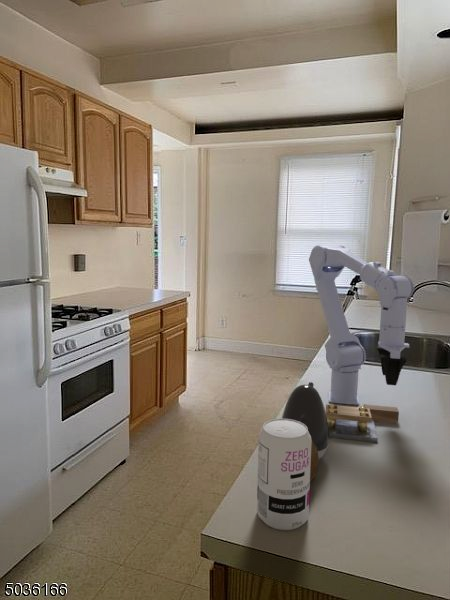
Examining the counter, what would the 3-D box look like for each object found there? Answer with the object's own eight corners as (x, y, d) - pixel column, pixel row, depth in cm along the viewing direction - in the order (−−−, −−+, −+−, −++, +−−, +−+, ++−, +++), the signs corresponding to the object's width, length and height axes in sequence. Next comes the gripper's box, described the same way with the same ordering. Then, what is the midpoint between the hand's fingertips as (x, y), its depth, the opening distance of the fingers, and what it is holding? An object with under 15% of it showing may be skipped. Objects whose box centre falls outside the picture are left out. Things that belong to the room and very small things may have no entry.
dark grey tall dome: (332, 451, 92) (336, 381, 90) (323, 474, 82) (326, 396, 81) (285, 441, 96) (288, 374, 94) (271, 462, 87) (273, 388, 85)
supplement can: (274, 495, 76) (276, 413, 74) (317, 514, 71) (321, 426, 69) (246, 518, 69) (248, 428, 67) (292, 540, 64) (295, 444, 62)
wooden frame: (326, 409, 106) (326, 404, 106) (369, 413, 103) (369, 408, 103) (326, 418, 100) (326, 413, 100) (371, 422, 98) (371, 417, 98)
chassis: (318, 418, 109) (319, 398, 108) (373, 424, 106) (374, 403, 105) (317, 435, 99) (318, 413, 98) (377, 442, 96) (378, 419, 95)
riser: (362, 415, 111) (363, 404, 111) (396, 418, 109) (397, 407, 109) (363, 420, 108) (364, 408, 108) (398, 423, 106) (398, 411, 106)
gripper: (416, 332, 97) (411, 390, 99) (405, 321, 111) (401, 372, 113) (382, 330, 99) (379, 388, 101) (376, 319, 113) (373, 370, 115)
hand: (389, 379), depth 107 cm, fingers open, 7 cm apart
